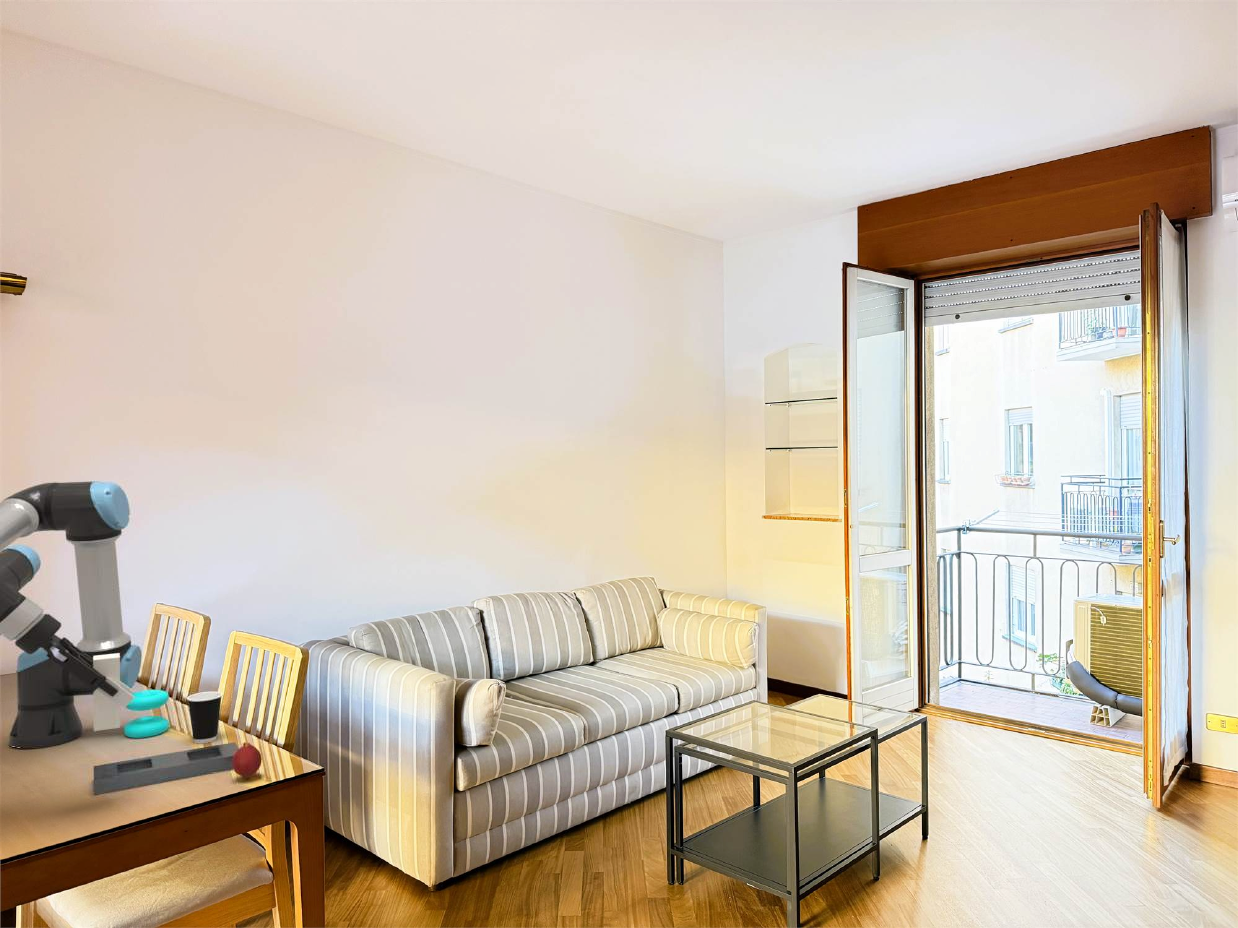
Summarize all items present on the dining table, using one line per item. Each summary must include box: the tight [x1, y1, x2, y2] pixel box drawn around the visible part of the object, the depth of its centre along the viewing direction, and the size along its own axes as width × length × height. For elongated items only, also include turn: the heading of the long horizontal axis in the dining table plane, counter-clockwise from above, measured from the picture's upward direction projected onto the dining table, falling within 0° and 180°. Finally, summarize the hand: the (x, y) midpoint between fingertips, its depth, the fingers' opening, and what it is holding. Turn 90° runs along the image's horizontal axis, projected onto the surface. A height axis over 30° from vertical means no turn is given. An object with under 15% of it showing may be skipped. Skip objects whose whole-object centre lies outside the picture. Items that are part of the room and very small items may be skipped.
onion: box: [232, 741, 263, 780], centre depth 181 cm, size 6×6×8 cm
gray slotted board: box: [93, 741, 240, 796], centre depth 185 cm, size 28×10×3 cm, turn 122°
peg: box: [93, 653, 121, 732], centre depth 169 cm, size 4×4×14 cm
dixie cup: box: [186, 691, 223, 744], centre depth 208 cm, size 8×8×11 cm
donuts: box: [123, 689, 170, 739], centre depth 214 cm, size 10×10×10 cm
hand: (128, 699), depth 171 cm, fingers closed on peg, 4 cm apart
